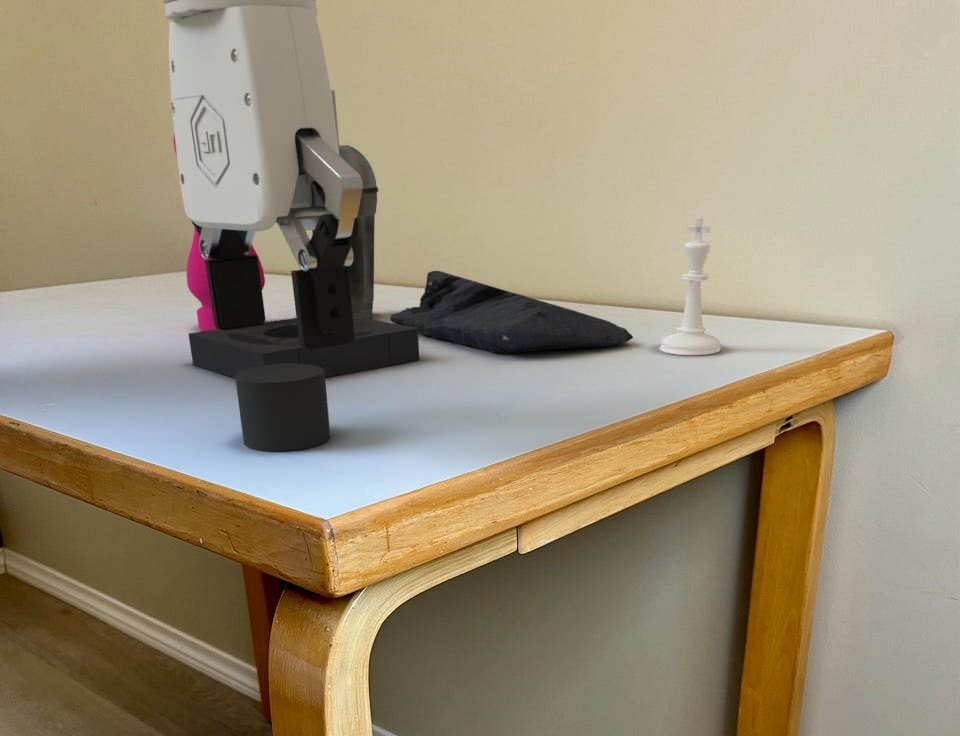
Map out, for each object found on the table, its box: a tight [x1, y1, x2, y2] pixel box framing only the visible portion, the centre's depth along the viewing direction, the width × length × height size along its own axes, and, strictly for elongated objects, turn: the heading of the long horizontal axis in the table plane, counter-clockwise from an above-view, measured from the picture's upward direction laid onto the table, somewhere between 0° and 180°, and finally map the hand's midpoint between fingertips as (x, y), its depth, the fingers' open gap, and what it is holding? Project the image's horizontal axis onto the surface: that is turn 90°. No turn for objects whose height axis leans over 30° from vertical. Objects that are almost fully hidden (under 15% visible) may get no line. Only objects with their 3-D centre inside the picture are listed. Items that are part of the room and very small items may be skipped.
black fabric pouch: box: [389, 270, 634, 354], centre depth 89 cm, size 15×22×5 cm
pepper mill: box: [172, 132, 266, 331], centre depth 93 cm, size 7×7×20 cm
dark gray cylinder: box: [234, 363, 331, 452], centre depth 60 cm, size 5×5×4 cm
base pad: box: [188, 316, 420, 379], centre depth 81 cm, size 14×12×2 cm
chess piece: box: [659, 216, 722, 356], centre depth 80 cm, size 5×5×10 cm
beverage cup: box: [311, 89, 379, 319], centre depth 96 cm, size 7×7×20 cm
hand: (281, 335), depth 58 cm, fingers open, 9 cm apart
